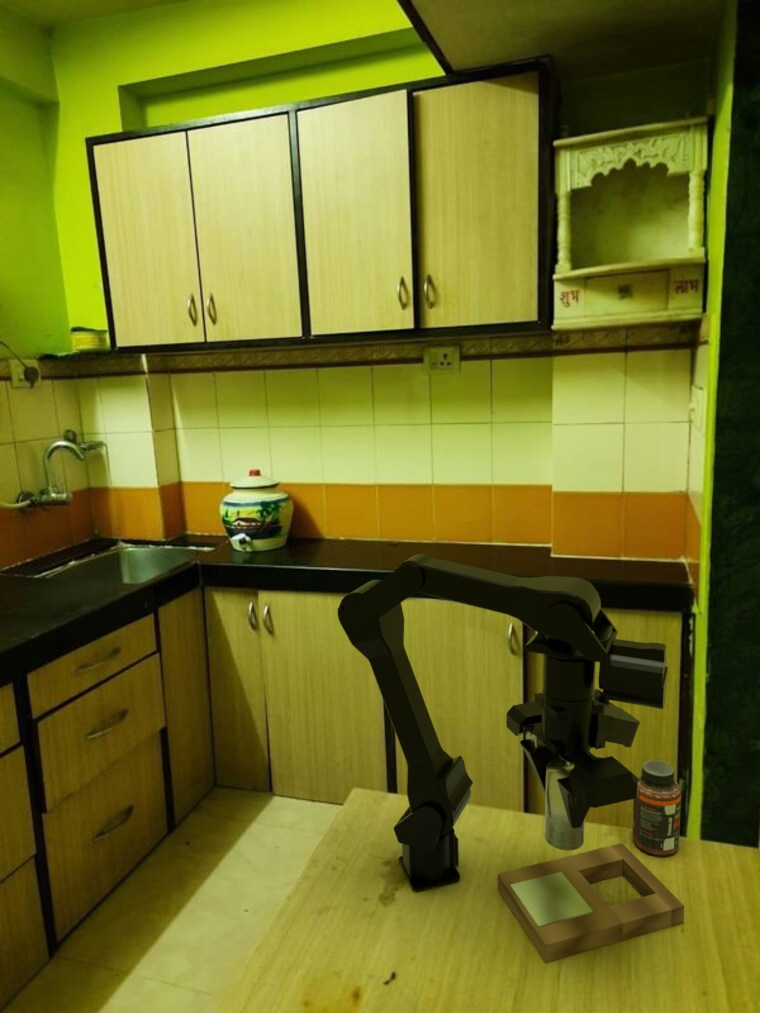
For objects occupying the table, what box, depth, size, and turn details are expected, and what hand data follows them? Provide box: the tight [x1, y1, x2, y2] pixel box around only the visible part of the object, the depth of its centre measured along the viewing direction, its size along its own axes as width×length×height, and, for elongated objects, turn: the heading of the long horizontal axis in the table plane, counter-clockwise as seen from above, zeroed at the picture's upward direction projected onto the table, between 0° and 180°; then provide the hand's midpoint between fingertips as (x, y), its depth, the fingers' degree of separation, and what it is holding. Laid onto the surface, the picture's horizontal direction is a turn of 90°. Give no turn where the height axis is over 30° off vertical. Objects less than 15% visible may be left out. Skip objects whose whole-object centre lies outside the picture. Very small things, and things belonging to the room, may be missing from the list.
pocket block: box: [497, 842, 685, 963], centre depth 86 cm, size 18×12×2 cm, turn 106°
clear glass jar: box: [544, 758, 586, 852], centre depth 83 cm, size 4×4×9 cm
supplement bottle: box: [632, 759, 682, 857], centre depth 96 cm, size 6×6×11 cm
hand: (564, 814), depth 83 cm, fingers closed on clear glass jar, 4 cm apart
